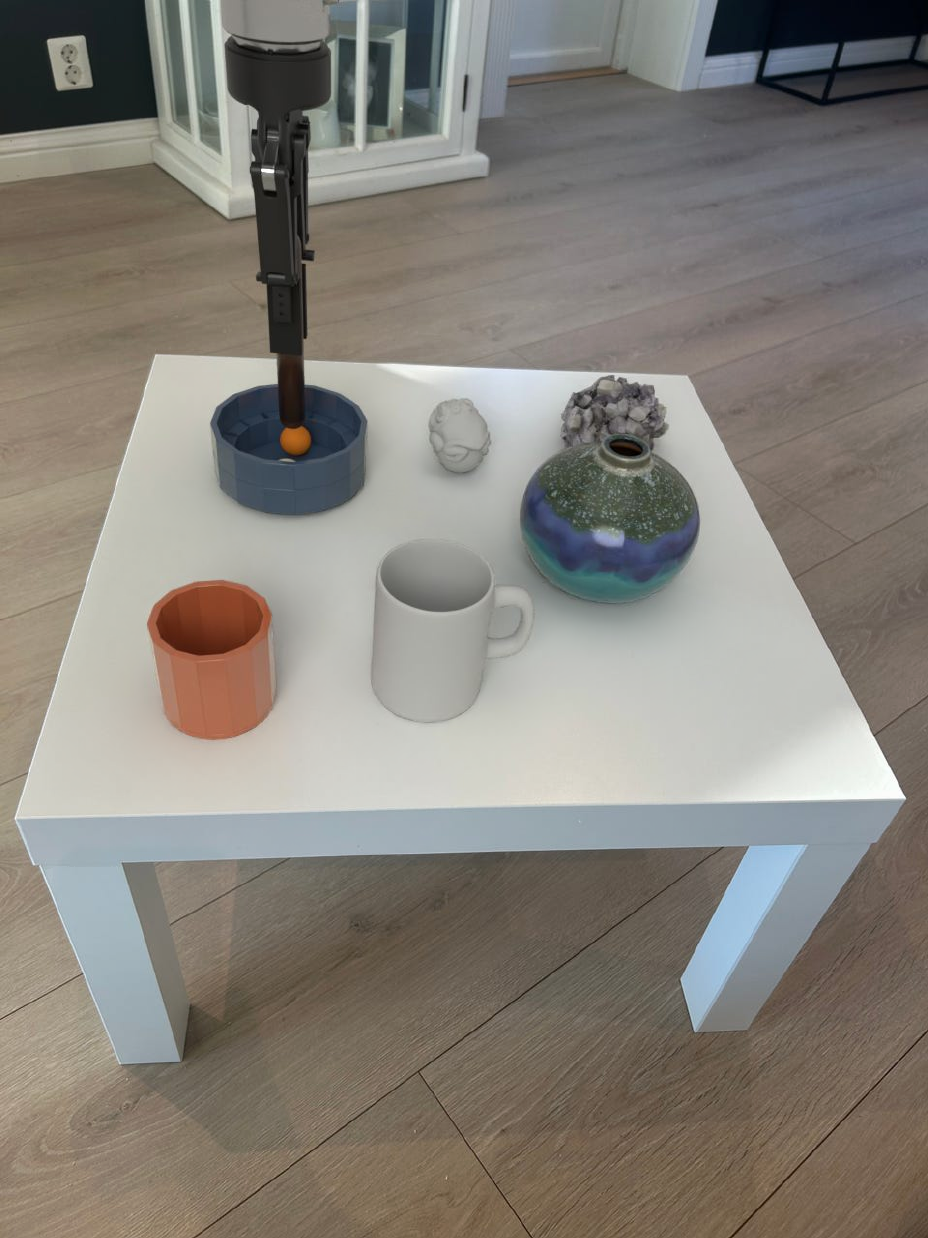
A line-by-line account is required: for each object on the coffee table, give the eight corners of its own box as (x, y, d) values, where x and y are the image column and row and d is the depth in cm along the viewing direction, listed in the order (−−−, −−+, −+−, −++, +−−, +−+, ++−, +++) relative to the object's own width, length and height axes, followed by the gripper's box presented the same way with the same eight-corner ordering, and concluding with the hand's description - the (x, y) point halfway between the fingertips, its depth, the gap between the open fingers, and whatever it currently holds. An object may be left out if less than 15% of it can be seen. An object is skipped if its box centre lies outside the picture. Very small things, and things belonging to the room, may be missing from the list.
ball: (278, 460, 94) (277, 433, 92) (283, 443, 97) (282, 417, 95) (309, 462, 95) (308, 436, 93) (313, 446, 97) (312, 420, 95)
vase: (668, 528, 93) (704, 406, 84) (693, 637, 82) (737, 510, 73) (510, 514, 92) (529, 389, 83) (512, 622, 81) (535, 492, 72)
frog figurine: (463, 442, 101) (469, 382, 96) (500, 477, 97) (509, 416, 92) (413, 456, 98) (417, 395, 94) (449, 492, 94) (455, 430, 89)
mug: (376, 727, 71) (382, 618, 64) (365, 647, 77) (369, 538, 70) (534, 716, 73) (556, 609, 66) (510, 639, 80) (529, 533, 72)
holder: (149, 736, 69) (133, 656, 63) (177, 653, 75) (165, 574, 69) (264, 744, 69) (259, 666, 64) (283, 662, 75) (279, 584, 70)
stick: (277, 432, 89) (268, 233, 77) (281, 419, 91) (273, 222, 79) (303, 435, 89) (298, 236, 77) (307, 421, 91) (302, 225, 79)
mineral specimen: (556, 446, 95) (610, 355, 93) (528, 427, 103) (577, 342, 101) (650, 501, 100) (704, 415, 97) (617, 478, 108) (666, 398, 106)
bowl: (202, 512, 88) (196, 456, 84) (232, 430, 99) (228, 376, 95) (357, 525, 89) (358, 471, 85) (371, 442, 99) (372, 390, 95)
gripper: (316, 71, 63) (320, 391, 79) (342, 19, 75) (341, 308, 90) (201, 59, 63) (228, 383, 79) (244, 9, 74) (261, 301, 90)
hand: (289, 343), depth 85 cm, fingers closed on stick, 2 cm apart
